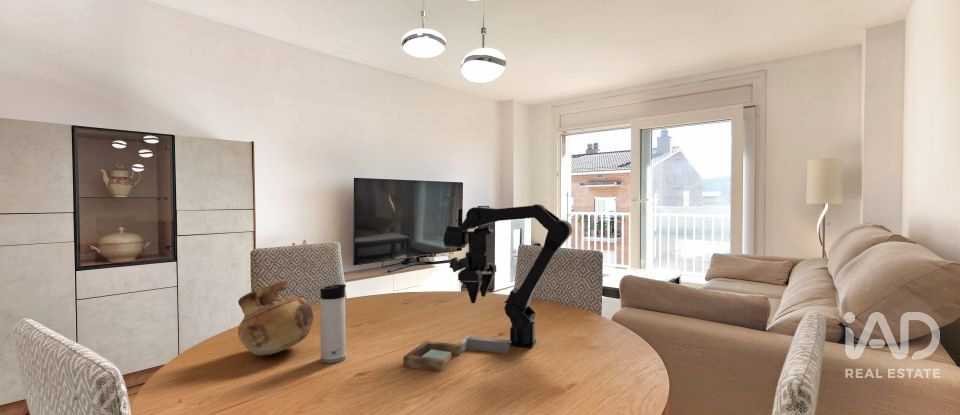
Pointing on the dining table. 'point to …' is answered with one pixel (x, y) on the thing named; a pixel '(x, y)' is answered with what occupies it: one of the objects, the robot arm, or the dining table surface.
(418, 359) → the bay
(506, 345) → the pusher tool
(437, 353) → the tile
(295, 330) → the clay pot
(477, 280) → the robot arm
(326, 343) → the travel mug
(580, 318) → the dining table surface
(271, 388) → the dining table surface
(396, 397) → the dining table surface
